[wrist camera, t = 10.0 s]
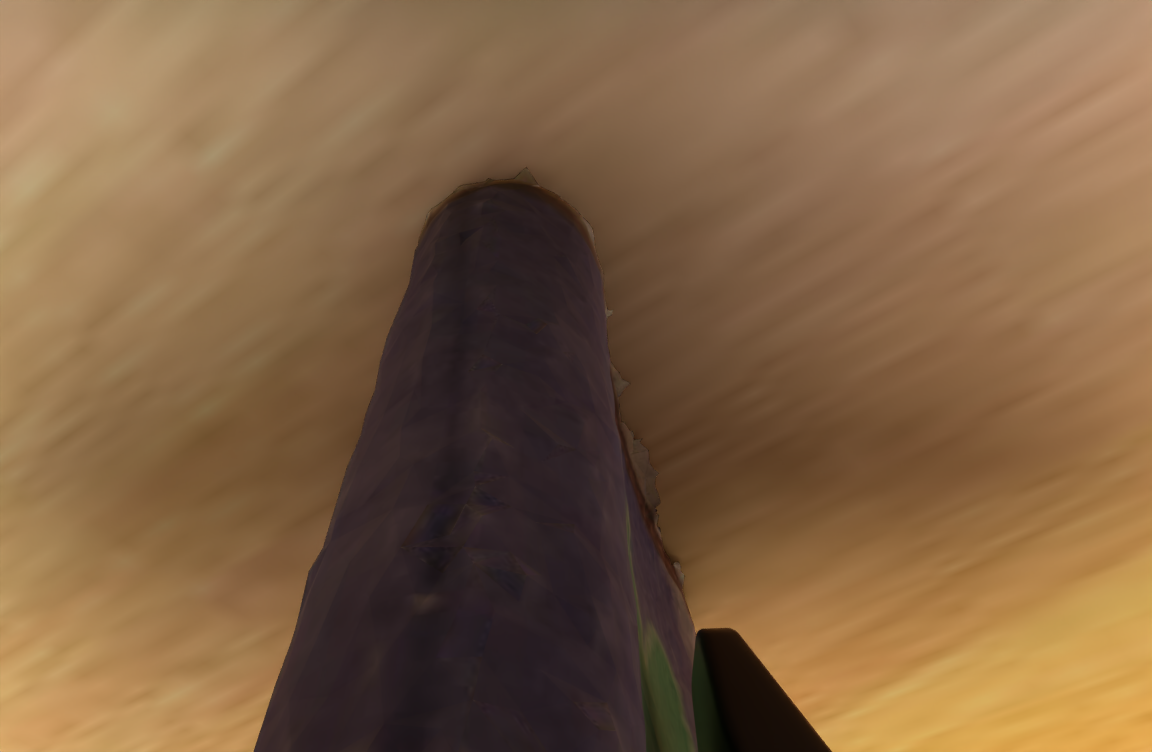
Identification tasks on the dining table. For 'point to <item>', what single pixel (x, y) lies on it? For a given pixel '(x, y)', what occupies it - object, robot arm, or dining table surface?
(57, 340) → the dining table surface
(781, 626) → the dining table surface
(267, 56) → the dining table surface
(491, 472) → the flask
